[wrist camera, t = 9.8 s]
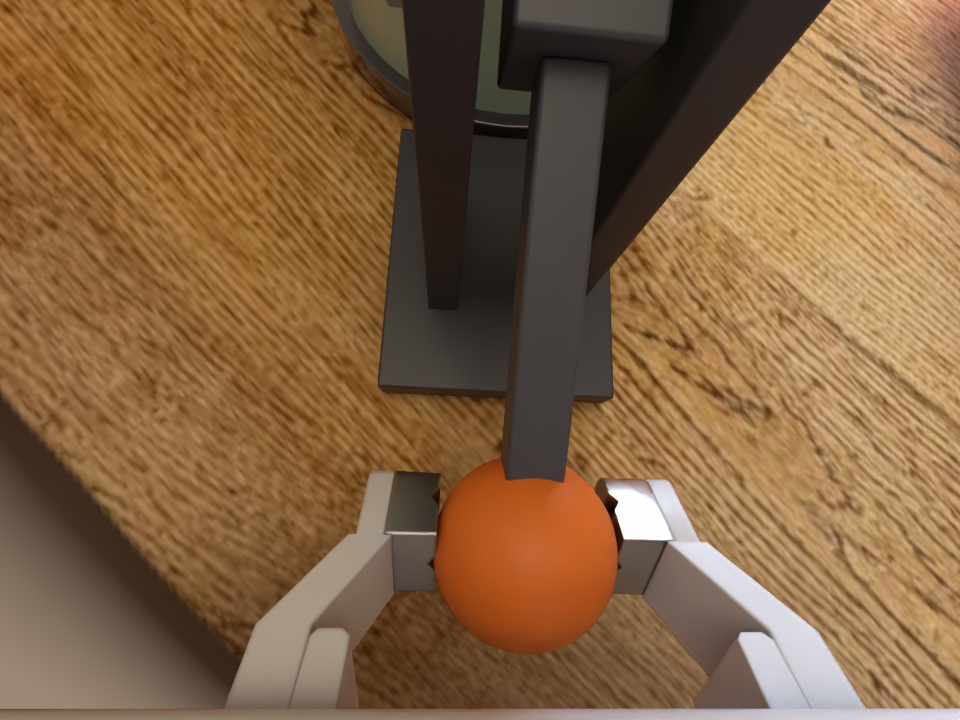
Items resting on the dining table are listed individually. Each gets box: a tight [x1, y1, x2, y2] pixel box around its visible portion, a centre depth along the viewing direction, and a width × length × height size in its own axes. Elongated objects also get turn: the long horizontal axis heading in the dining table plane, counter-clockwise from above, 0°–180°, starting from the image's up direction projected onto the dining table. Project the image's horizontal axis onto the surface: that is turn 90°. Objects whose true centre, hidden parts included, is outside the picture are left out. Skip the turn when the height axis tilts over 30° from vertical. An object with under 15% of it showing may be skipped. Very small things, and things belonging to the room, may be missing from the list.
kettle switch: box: [433, 0, 673, 655], centre depth 8 cm, size 13×4×4 cm, turn 178°
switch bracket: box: [378, 0, 831, 403], centre depth 12 cm, size 10×8×13 cm
